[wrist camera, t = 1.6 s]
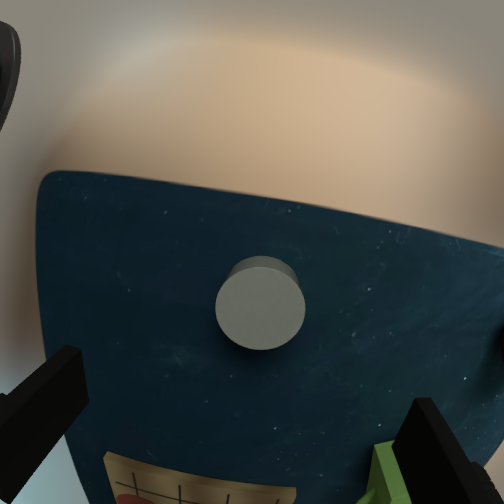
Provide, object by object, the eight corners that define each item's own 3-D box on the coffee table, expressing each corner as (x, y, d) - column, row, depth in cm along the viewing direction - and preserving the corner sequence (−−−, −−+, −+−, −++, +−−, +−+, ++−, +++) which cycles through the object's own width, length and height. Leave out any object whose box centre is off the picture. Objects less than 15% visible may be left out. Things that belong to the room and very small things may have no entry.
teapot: (391, 497, 32) (406, 554, 21) (321, 478, 31) (329, 548, 20) (473, 427, 28) (508, 481, 18) (414, 396, 28) (453, 466, 17)
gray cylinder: (218, 323, 27) (211, 343, 23) (226, 250, 26) (220, 260, 22) (293, 334, 27) (296, 355, 23) (307, 261, 25) (313, 274, 22)
